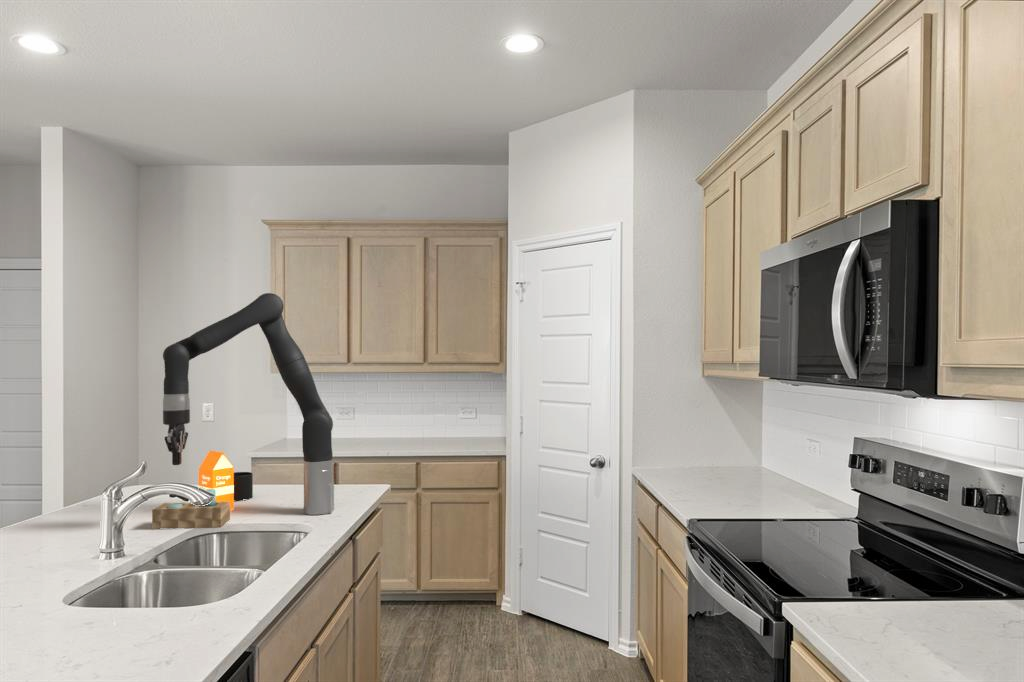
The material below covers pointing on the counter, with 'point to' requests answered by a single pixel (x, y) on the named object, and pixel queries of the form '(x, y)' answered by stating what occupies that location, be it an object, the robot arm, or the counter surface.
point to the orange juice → (218, 476)
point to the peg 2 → (214, 498)
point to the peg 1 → (174, 505)
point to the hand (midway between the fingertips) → (176, 464)
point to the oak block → (190, 516)
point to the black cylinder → (243, 485)
